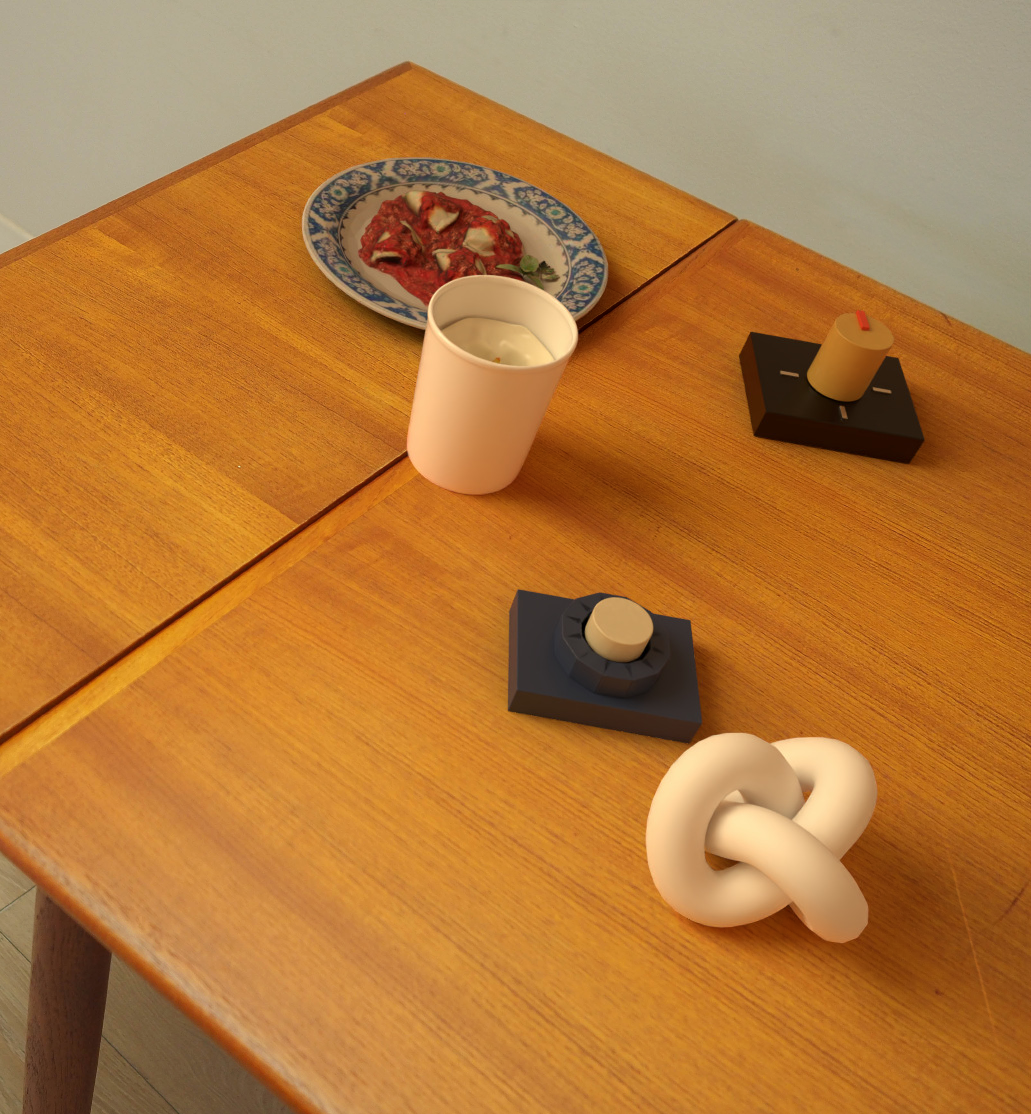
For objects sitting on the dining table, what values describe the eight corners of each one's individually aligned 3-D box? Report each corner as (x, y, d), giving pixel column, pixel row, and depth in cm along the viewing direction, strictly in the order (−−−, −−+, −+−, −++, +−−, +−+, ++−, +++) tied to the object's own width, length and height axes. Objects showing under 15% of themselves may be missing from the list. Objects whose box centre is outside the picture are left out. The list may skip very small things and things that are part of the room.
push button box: (678, 641, 80) (701, 601, 78) (689, 744, 75) (714, 705, 72) (509, 611, 80) (524, 569, 78) (507, 711, 75) (524, 671, 72)
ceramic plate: (237, 262, 103) (240, 230, 100) (400, 147, 118) (406, 117, 116) (512, 404, 95) (522, 374, 92) (648, 261, 110) (660, 232, 108)
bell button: (642, 621, 76) (651, 602, 75) (645, 667, 74) (655, 649, 73) (583, 610, 76) (592, 592, 75) (585, 656, 74) (594, 638, 73)
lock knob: (869, 406, 95) (902, 350, 92) (811, 396, 95) (842, 340, 92) (857, 369, 98) (889, 314, 95) (802, 360, 98) (831, 305, 95)
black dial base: (884, 381, 102) (899, 355, 100) (909, 464, 95) (926, 438, 93) (738, 355, 102) (751, 329, 100) (753, 436, 95) (767, 409, 93)
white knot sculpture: (642, 973, 65) (705, 889, 58) (602, 774, 73) (654, 680, 66) (852, 984, 66) (938, 903, 59) (790, 786, 74) (859, 695, 67)
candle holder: (465, 524, 85) (509, 388, 76) (366, 442, 90) (397, 304, 81) (558, 468, 90) (609, 334, 82) (460, 392, 95) (498, 257, 86)
